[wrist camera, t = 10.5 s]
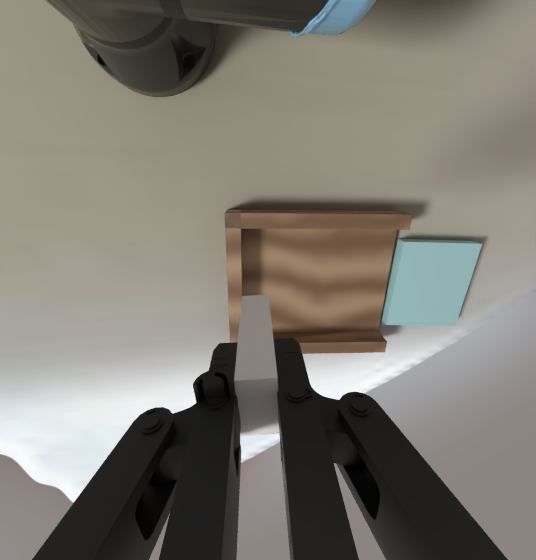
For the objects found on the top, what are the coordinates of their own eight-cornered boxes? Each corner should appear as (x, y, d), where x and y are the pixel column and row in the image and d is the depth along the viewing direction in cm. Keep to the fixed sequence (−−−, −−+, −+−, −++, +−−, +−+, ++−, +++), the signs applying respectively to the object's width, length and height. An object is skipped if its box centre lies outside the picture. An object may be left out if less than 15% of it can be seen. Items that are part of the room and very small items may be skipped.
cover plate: (396, 238, 42) (404, 241, 40) (469, 240, 43) (482, 243, 40) (379, 317, 47) (386, 325, 45) (445, 318, 48) (455, 325, 45)
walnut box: (227, 209, 39) (224, 212, 35) (397, 211, 40) (412, 214, 36) (232, 340, 47) (230, 354, 43) (374, 338, 48) (384, 352, 44)
